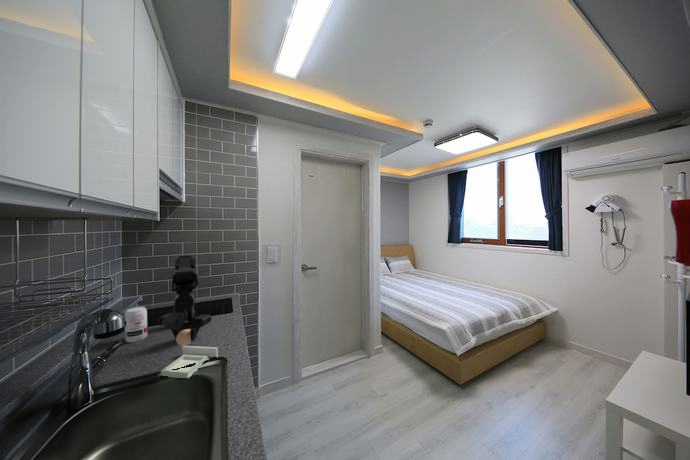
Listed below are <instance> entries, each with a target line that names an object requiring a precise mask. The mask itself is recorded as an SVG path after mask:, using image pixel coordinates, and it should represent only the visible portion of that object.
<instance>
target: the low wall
mask: <svg viewBox="0 0 690 460" xmlns="http://www.w3.org/2000/svg"><path fill="white" fill-rule="evenodd" d="M182 355H198V356H208V358H213V357H217V358H218V357H219V348H218V347H217V346H216V347H213V346H212V347H211V346H199V345H198V346H197V345H195V346H194V345H184V346H182V345H181V356H182Z"/></svg>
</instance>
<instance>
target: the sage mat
mask: <svg viewBox="0 0 690 460" xmlns="http://www.w3.org/2000/svg"><path fill="white" fill-rule="evenodd" d="M209 359H210V360H211V357H208V356H198V355H182V354H181V356H180V357H178V358H177V359H175V360H174V361H173V362H171V363H169V365H167V366H166V367H164V368H163V369H161V370H160V373H161V374H160V373H159V374H158V376H159V375H163V376H168V377H167V378H174V379H175V378H176V379H189V378H190V377H192V376H193V375H194V374H195V373H196V372H198V368H199V366H200V365H201V364H202V363H203V362H204V361H206V360H209ZM210 360H209V361H210ZM193 363H196V364H195V365H194V366H192V367H187V368H186V367H185V368H181V367H184V366H186V365H189V364H193ZM177 368H180V369H178V370H172V369H177ZM194 372H195V373H194ZM193 373H194V374H193ZM192 374H193V375H192Z"/></svg>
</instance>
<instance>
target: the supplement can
mask: <svg viewBox="0 0 690 460" xmlns="http://www.w3.org/2000/svg"><path fill="white" fill-rule="evenodd" d="M125 321H126V327H125V326H124V339H125V342H127V343H136V342H140V341H143V340H144V339H146V338H147V337H148V309H147V308H146V307H145V306H136V307H131V308H129V309H127V310H126V311H125V313H124V322H125Z"/></svg>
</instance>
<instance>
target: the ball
mask: <svg viewBox="0 0 690 460" xmlns="http://www.w3.org/2000/svg"><path fill="white" fill-rule="evenodd" d="M175 343H176V344H177V345H179V346H181V347H182V346H189V344H191V343H192V342H191V330H190V329H184V330H182V331H180V332H179V333H178V335H177V337H176V339H175Z"/></svg>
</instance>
